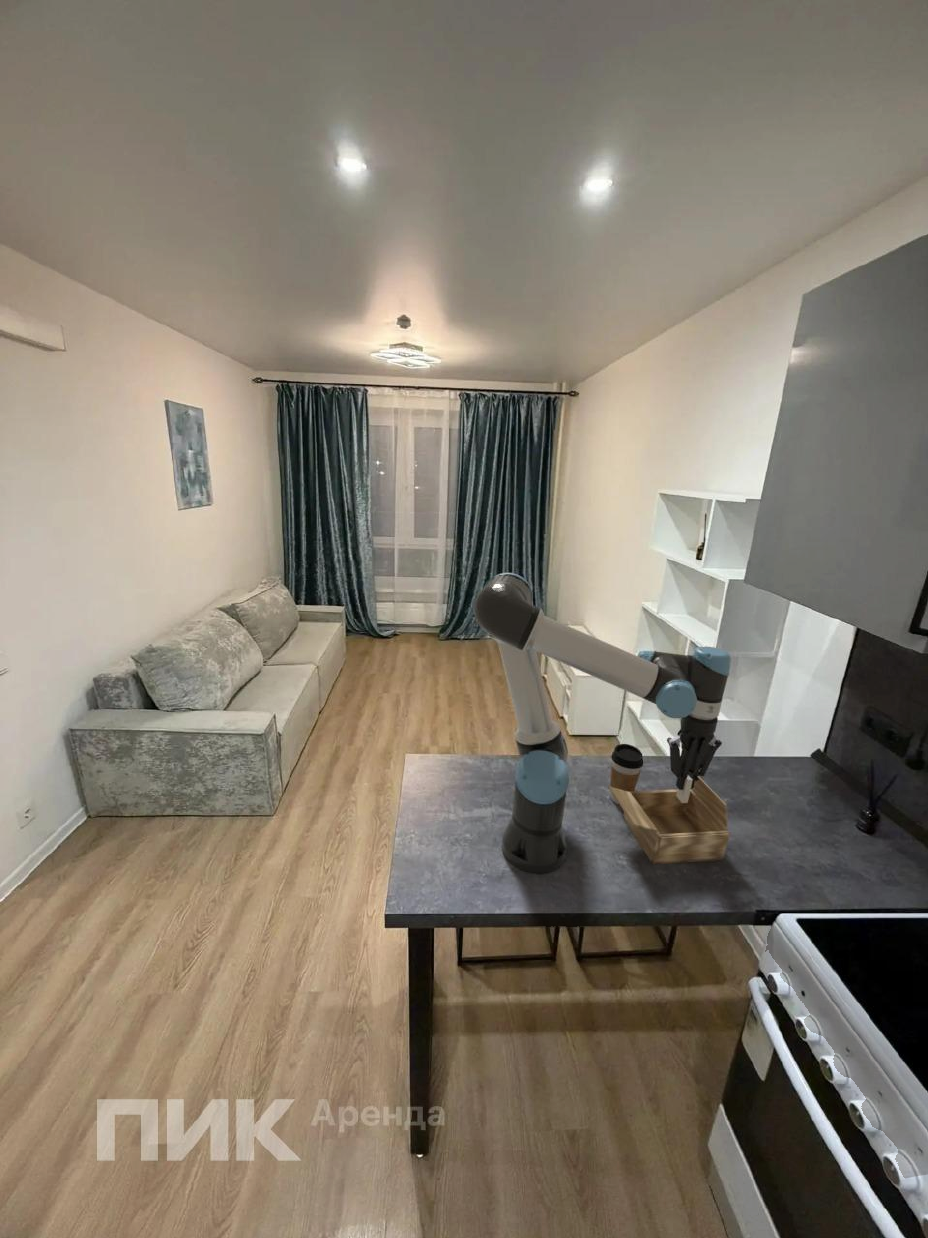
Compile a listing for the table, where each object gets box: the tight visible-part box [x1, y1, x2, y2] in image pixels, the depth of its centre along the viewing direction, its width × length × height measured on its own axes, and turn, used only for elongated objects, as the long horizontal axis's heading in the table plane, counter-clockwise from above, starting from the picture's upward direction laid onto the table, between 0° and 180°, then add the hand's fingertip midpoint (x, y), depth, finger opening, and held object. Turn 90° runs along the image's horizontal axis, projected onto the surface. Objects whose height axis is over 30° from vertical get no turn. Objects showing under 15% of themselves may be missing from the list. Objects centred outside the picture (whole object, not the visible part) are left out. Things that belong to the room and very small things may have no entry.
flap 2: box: [691, 776, 728, 828], centre depth 123 cm, size 1×14×6 cm, turn 8°
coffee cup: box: [609, 743, 644, 805], centre depth 138 cm, size 8×8×15 cm
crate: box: [622, 789, 731, 865], centre depth 124 cm, size 18×17×8 cm
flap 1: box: [608, 785, 658, 832], centre depth 121 cm, size 1×14×6 cm
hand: (681, 799), depth 122 cm, fingers closed
